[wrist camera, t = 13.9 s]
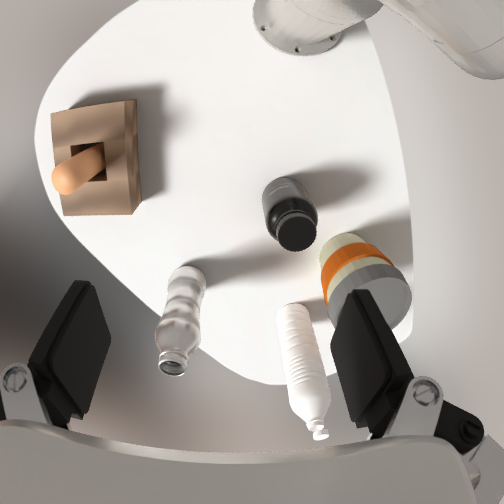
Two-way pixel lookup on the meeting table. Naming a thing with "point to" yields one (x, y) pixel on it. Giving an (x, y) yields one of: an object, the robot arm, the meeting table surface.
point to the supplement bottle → (289, 214)
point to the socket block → (116, 157)
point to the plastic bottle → (180, 320)
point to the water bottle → (303, 368)
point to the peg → (79, 169)
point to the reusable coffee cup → (362, 278)
